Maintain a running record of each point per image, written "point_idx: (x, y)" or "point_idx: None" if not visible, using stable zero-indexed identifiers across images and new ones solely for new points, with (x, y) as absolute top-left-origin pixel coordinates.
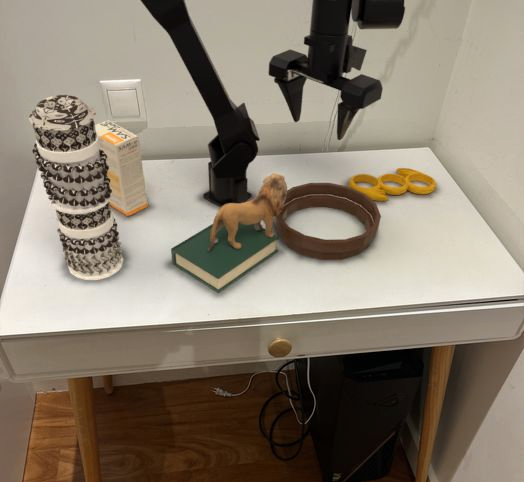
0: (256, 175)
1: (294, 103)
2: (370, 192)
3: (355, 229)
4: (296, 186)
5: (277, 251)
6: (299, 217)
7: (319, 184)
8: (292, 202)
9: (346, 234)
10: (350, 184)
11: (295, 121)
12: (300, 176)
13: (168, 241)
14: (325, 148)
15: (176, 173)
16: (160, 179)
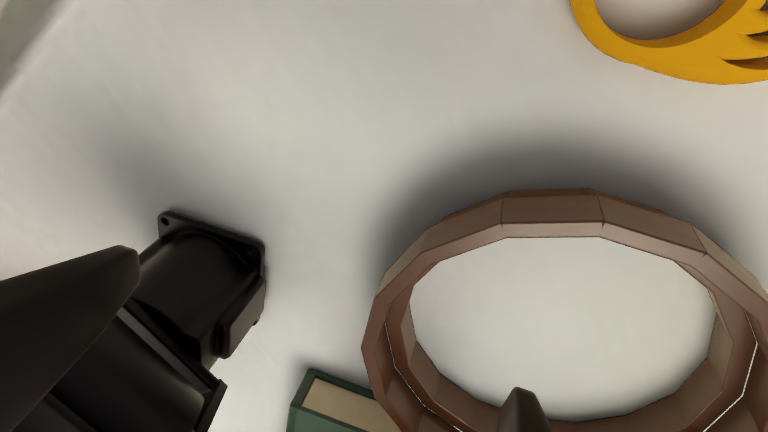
0: (190, 114)
1: (7, 409)
2: (720, 77)
3: (661, 294)
4: (384, 292)
5: (453, 425)
6: (444, 289)
7: (462, 251)
8: (402, 299)
9: (629, 325)
10: (585, 34)
11: (135, 286)
12: (323, 31)
13: (238, 427)
14: None
15: (37, 210)
16: (41, 249)
